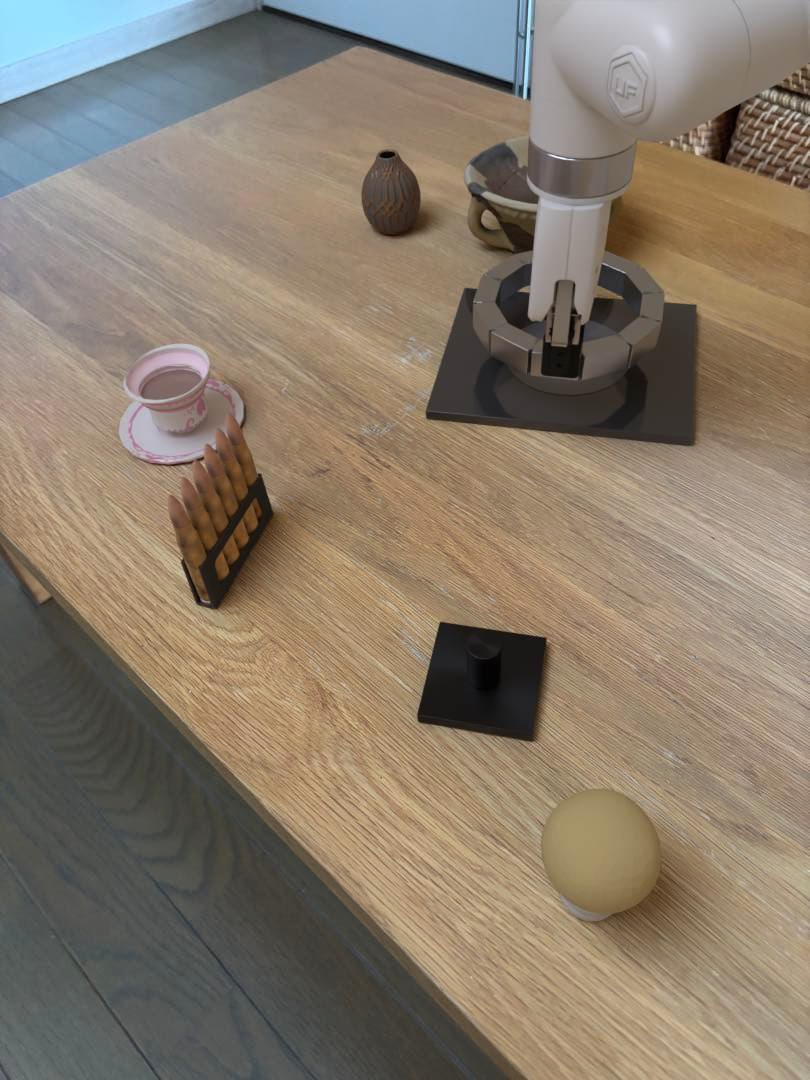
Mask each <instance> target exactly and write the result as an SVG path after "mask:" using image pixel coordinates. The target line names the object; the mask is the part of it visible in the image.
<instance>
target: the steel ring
mask: <svg viewBox="0 0 810 1080" xmlns="http://www.w3.org/2000/svg"><path fill="white" fill-rule="evenodd" d="M532 260H533V250H532V251H528V252H523V253H518V254H515V253H514V254H513V255H509V256H508V257H507V258H505V259H503V260H502V261H501V262H499V263H497V264H496V265H495V266H493V267H491V268H490V269H488V270H487V271H486V272H484V273H483V274H482V275H481V277H480V279H479V282H478V286H477V288H476V289H477V291H476V294H475V297H474V300H473V328H474V330H475V331H476V333H477V335H478V337H479V338H480V340H481V342H482V344H483V346H484V347H485V349H486V351H487V353H490V355H491V356H492V357H494V358H496V359H498V360H500V361H502V362H504V363H506V364H508V365H509V366H511V367H513V368H515V369H517V370H519V371H521V372H523V373H525V374H527V373H529V372H530V375H531V376H538V377H547V378H556V379H565V380H573V381H578V377H580V379H581V380H582V381H583V380H587V379H592V378H596V377H600V376H604V375H609V374H613V373H617V372H621V371H625V370H626V368H628V369H630V368H631V367H632V366H633V365H634V364H636V363H637V362H638V361H639V360H640V359H641V358H643V357H644V356H645V355H646V354H647V353H649V352H650V351H651V350H652V349H653V348H655V347H656V344H657V343H658V338H659V334H660V329H661V324H662V317H663V307H664V302H665V295H666V294H665V291H664V289H662V287H661V286H660V285H659V283H658V282H657V281H656V280H655V278H653V276H652V275H651V274H650V273H649V272H648V271H647V270H646V268H645V267H643V266H642V267H641V264H638V263H635V262H633V261H631V260H629V259H627V258H624V257H621V256H619V255H617V254H614V253H612V252H611V251H607V250H605V249H604V255H603V260H602V265H601V270H600V275H599V280H598V284H597V287H599V288H602V289H604V290H607V291H609V292H611V293H614V294H616V295H617V296H620V297H622V299H624V300H625V301H626V302H627V303H628V305H629V306H630V307H631V309H632V310H633V311H634V312H635V314H636V315H637V316H638V318H637V319H635V320H634V321H633V322H632V323H630V324H629V325H628V326H627V327H625V328H624V329H623V330H622V331H620V332H619V333H618V334H617V335H613V336H608V337H604V338H599V339H595V340H591V341H586V342H582V348H581V356H580V365H579V373H578V377H577V378H562V377H552V376H544V375H542V374H541V363H542V349H543V339H538V338H536V337H534V336H532V335H530V334H528V333H526V332H524V331H522V330H520V329H518V328H516V327H514V326H512V325H510V324H508V322H507V321H506V319H505V317H504V316H503V314H502V313H501V311H500V309H499V307H500V304H501V303H502V302H503V301H505V300H506V299H507V298H509V297H510V296H512V295H513V294H515V293H516V292H520V291H521V290H522V289H524V288H526V287H530V286H531V273H532Z"/></svg>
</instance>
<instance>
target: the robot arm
mask: <svg viewBox="0 0 810 1080" xmlns="http://www.w3.org/2000/svg"><path fill="white" fill-rule="evenodd" d="M534 1H535V2H534V21H533V43H532V45H533V46H532V65H531V66H532V67H531V84H530V106H529V107H530V109H529V131H528V135H529V143H528V165H527V183H528V186H529V188H530V189H531V190H532V191H533V192H534V193H535V194H537V195H538V196H539V200H538V207H537V215H536V224H535V235H534V247H533V260H532V273H531V286H529V287H530V288H529V292H530V298H529V308H528V317H529V319H530V320H531V321H534V322H535V321H542V320H543V319H544V317H545V316H546V314H547V323H546V334H544V337H543V349H542V363H541V374H542V375H544V376H552V377H562V378H577V377H578V373H579V365H580V356H581V348H582V342H583V338H584V329H585V323H586V322H587V321H588V320H589V317H590V313H591V309H592V305H593V301H594V297H596V292H597V287H598V286H597V284H598V280H599V275H600V270H601V265H602V260H603V255H604V250H605V248H606V243H607V237H608V230H609V229H608V224H609V217H610V210H611V202H612V200H613V199H615V198H617V197H619V196H621V195H622V196H623V195H624V194H625V193H626V192H627V191H628V190H629V188H630V187H631V184H632V180H633V173H634V167H635V158H636V151H637V145H638V140H640V141H643V142H647V143H662V142H667V141H671V140H675V139H677V138H679V137H681V136H684V135H686V134H687V133H689V132H691V131H693V130H695V129H696V128H699V127H700V126H702V125H704V124H706V123H708V122H710V121H711V120H713V119H715V118H717V117H719V116H721V115H722V114H724V113H725V112H726V111H727V112H728V111H729V110H731V109H733V108H735V107H737V106H738V105H740V104H743V103H744V102H746V101H748V100H749V99H752V98H753V97H756V96H758V95H759V94H762V93H763V92H766V91H767V90H769V89H771V88H773V87H775V86H776V85H778V84H780V83H782V82H783V81H784V80H786V79H788V78H789V77H791V76H793V75H794V74H796V73H797V72H799V71H800V70H801V69H803V68H804V67H805V66H807V65H808V64H810V0H534Z"/></svg>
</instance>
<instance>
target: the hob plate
mask: <svg viewBox="0 0 810 1080" xmlns="http://www.w3.org/2000/svg"><path fill="white" fill-rule="evenodd" d="M476 291H477V288H473V287H464V288H463V291H462V294H461V297H460V300H459V304H458V306H457V309H456V314H455V316H454V319H453V323H452V326H451V329H450V331H449V335H448V338H447V341H446V345H445V348H444V351H443V354H442V356H441V357H442V358H441V361H440V364H439V366H438V367H439V368H438V370H437V374H436V376H435V379H434V383H433V386H432V390H431V393H430V395H429V399H428V402H427V406H426V408H425V418H426V419H427V420H436V421H444V422H445V421H447V422H457V423H464V424H466V423H467V424H474V425H475V424H476V425H485V426H494V427H495V426H496V427H504V428H514V429H522V430H523V429H524V430H533V431H544V432H553V433H562V434H573V435H582V436H591V437H601V438H602V437H603V438H611V439H612V438H613V439H620V440H621V439H623V440H631V441H641V442H650V443H660V444H669V445H670V444H671V445H678V446H688V447H691V446H692V445H693V442H694V438H695V437H694V434H695V431H694V430H695V428H694V427H695V391H696V390H695V389H696V388H695V387H696V352H697V351H696V345H697V307H698V306H697V304H695V303H680V302H668V301H667V302H666V301H664V307H663V317H662V324H661V329H660V334H659V338H658V343H657V344H656V347H655V348H653V349H652V350H651V351H650V352H649V353H647V354H646V355H645V356H644V357H643V358H641V359H640V360H639V361H638V362H637V363H636V364H634V365H633V366H632V367H631V368H630V369H628V368H626V370H625V371H621V372H617V373H613V374H609V375H604V376H600V377H596V378H592V379H587V380H583V381H582V380H581V379H580V377H578V381H573V380H565V379H556V378H547V377H538V376H531V375H530V372H529V373H527V374H525V373H523V372H521V371H519V370H517V369H515V368H513V367H511V366H509V365H508V364H506V363H504V362H502V361H500V360H498V359H496V358H494V357H492V356H491V355H490V353H487V351H486V349H485V347H484V346H483V344H482V342H481V340H480V338H479V337H478V335H477V333H476V331H475V330H474V328H473V300H474V297H475V294H476ZM529 298H530V291H517V292H516V293H515V294H513V295H512V296H510V297H509V298H507V299H506V300H505V301H503V302H502V303H501V304H500V307H499V309H500V311H501V313H502V314H503V316H504V317H505V319H506V321H507V322H508V324H510V325H512V326H514V327H516V328H518V329H520V330H522V331H524V332H526V333H528V334H530V335H532V336H534V337H536V338H538V339H543V337H544V334H546V323H547V314H546V316H545V317H544V319H543V320H542V321H535V322H534V321H531V320H530V319H529V317H528V308H529ZM637 318H638V316H637V315H636V314H635V312H634V311H633V310H632V309H631V307H630V306H629V305H628V303H627V302H626V301H625V300H624V298H613V297H597V296H595V297H594V301H593V305H592V309H591V313H590V317H589V320H588V321H587V322H586V323H585V329H584V338H583V342H586V341H591V340H595V339H599V338H604V337H608V336H613V335H617V334H618V333H619V332H620V331H622V330H623V329H624V328H625V327H627V326H628V325H629V324H630V323H632V322H633V321H634V320H635V319H637Z"/></svg>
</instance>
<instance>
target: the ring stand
mask: <svg viewBox="0 0 810 1080" xmlns="http://www.w3.org/2000/svg"><path fill="white" fill-rule="evenodd" d="M547 641H548V638H547V637H545V636H539V635H531V634H526V633H519V632H511V631H506V630H499V629H492V628H484V627H478V626H471V625H464V624H459V623H451V622H445V621H439V623H438V628H437V631H436V636H435V640H434V644H433V648H432V651H431V656H430V659H429V660H430V661H429V665H428V669H427V673H426V676H425V681H424V685H423V690H422V693H421V697H420V702H419V704H418V705H419V706H418V710H417V714H416V716H417V722H418V723H422V724H427V725H433V726H434V725H435V726H440V727H447V728H452V729H458V730H462V731H463V730H464V731H469V732H476V733H481V734H487V735H492V736H498V737H503V738H510V739H515V740H519V741H520V740H521V741H526V742H533V737H534V730H535V724H536V717H537V709H538V702H539V697H540V690H541V684H542V683H541V682H542V677H543V676H542V675H543V669H544V662H545V655H546V649H547Z"/></svg>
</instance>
